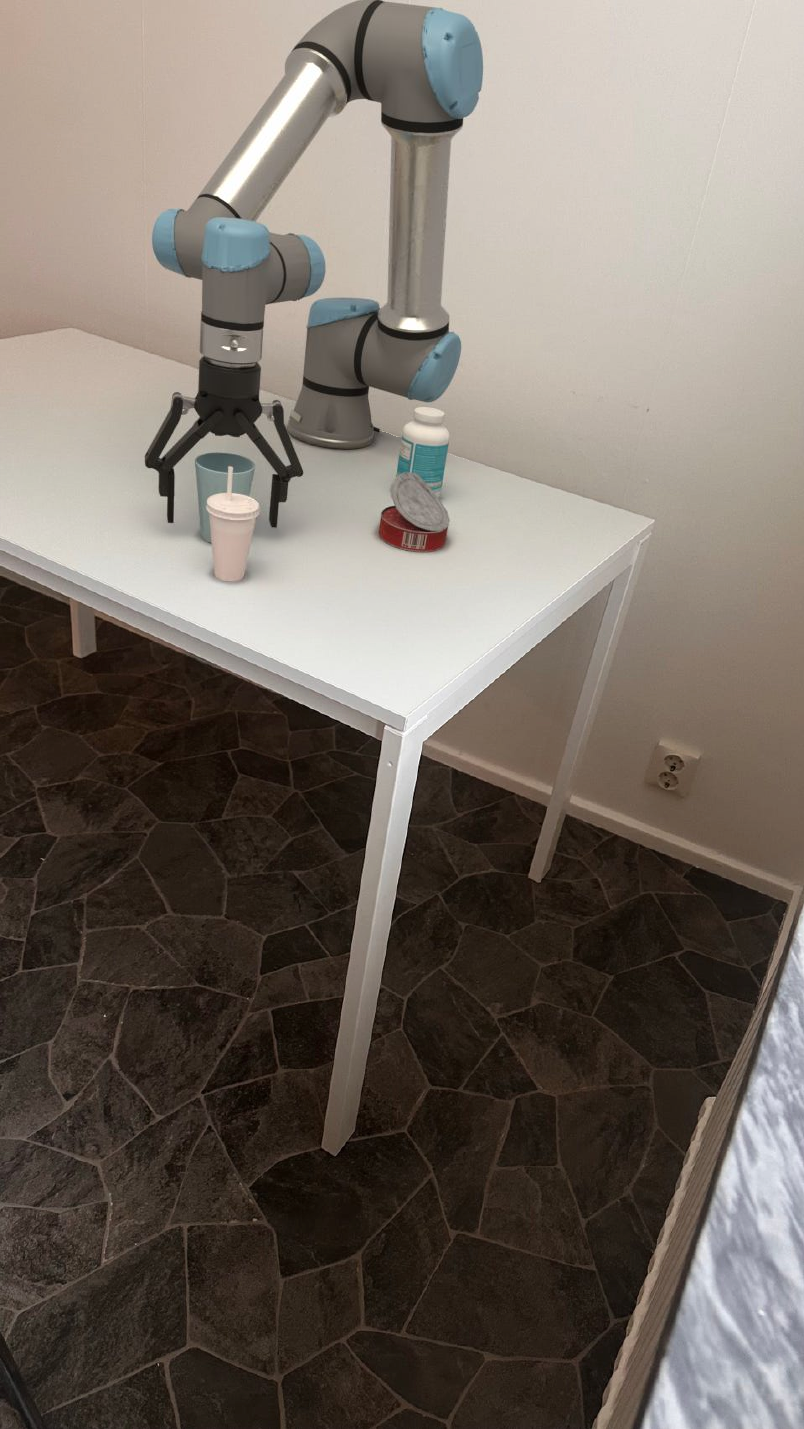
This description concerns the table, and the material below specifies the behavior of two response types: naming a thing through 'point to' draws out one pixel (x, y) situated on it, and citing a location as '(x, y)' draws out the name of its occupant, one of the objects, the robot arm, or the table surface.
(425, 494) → the canned food
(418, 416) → the pill bottle
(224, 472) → the cup
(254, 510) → the smoothie
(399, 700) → the table surface
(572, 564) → the table surface
